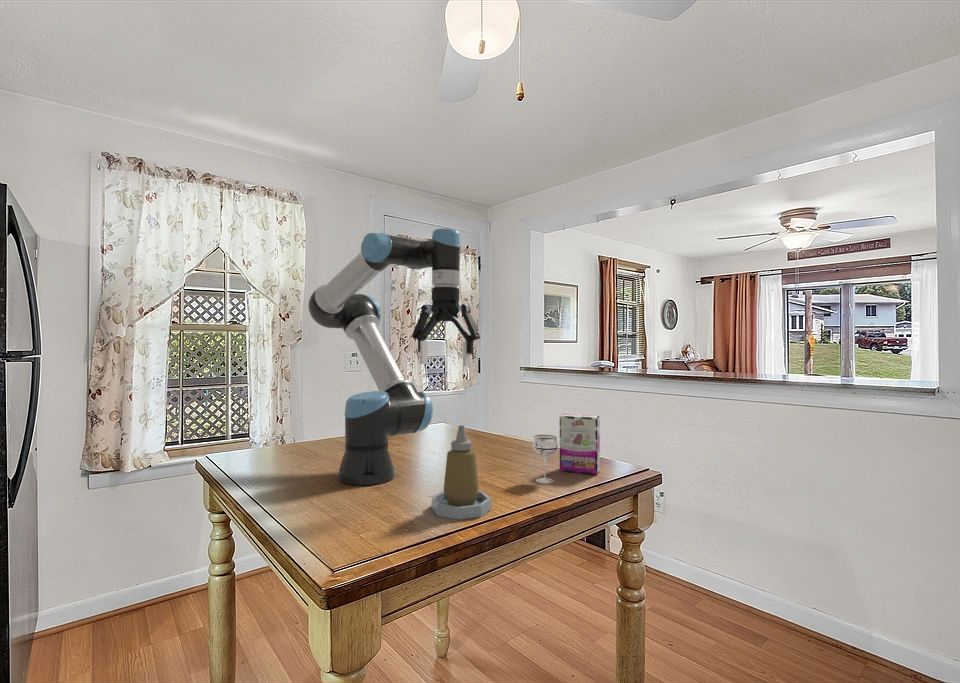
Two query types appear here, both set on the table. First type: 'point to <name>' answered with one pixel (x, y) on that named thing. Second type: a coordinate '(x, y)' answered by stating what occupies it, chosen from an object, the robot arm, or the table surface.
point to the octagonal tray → (463, 512)
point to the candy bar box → (580, 443)
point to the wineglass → (545, 451)
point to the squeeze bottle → (461, 472)
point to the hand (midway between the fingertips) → (444, 365)
